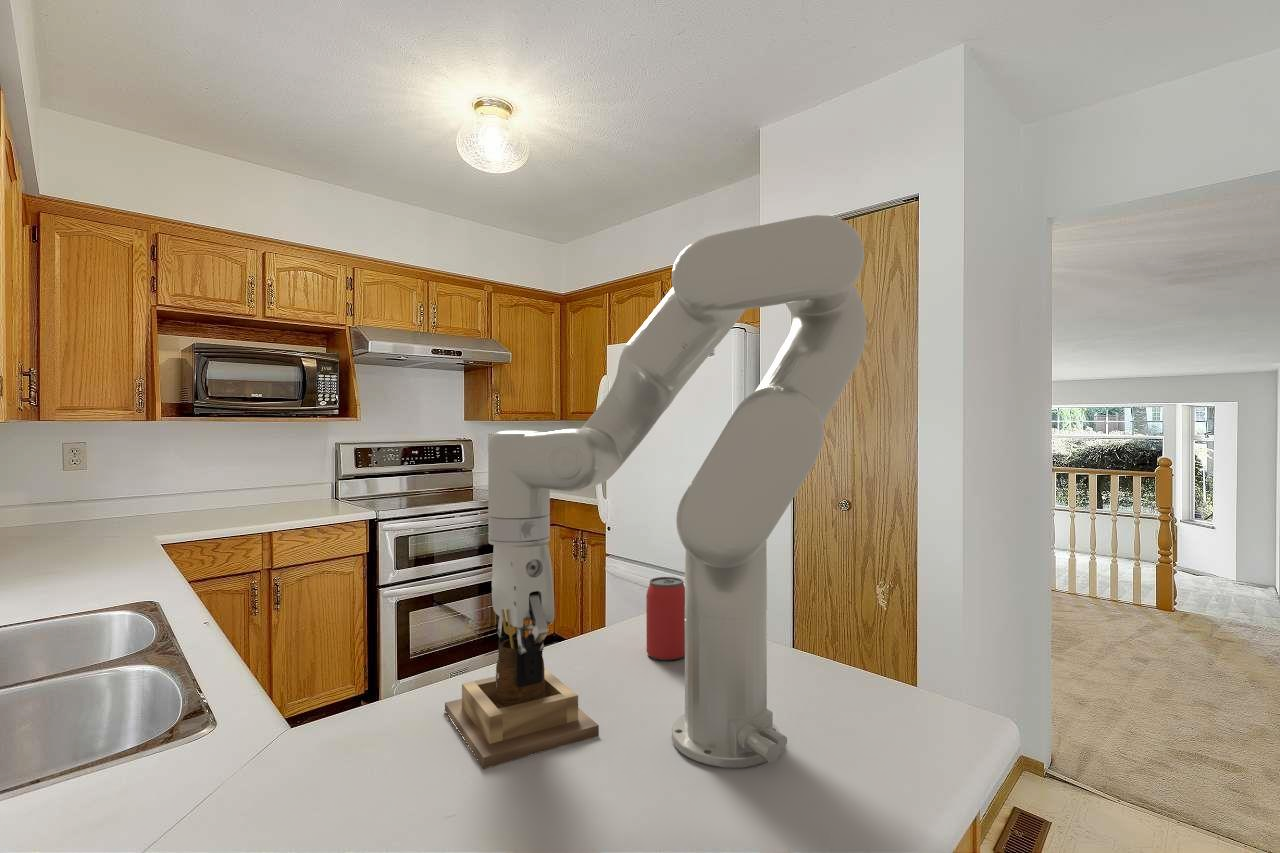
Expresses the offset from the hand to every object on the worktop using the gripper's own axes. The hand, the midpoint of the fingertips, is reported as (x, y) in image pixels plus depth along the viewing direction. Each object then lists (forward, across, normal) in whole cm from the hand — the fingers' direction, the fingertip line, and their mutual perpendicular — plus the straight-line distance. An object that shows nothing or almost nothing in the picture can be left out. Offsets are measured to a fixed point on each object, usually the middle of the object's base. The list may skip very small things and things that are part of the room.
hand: (519, 674), depth 78 cm
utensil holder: (+3, 0, 0) cm, 3 cm away
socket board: (+6, 0, 0) cm, 6 cm away
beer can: (+6, +10, -29) cm, 31 cm away
